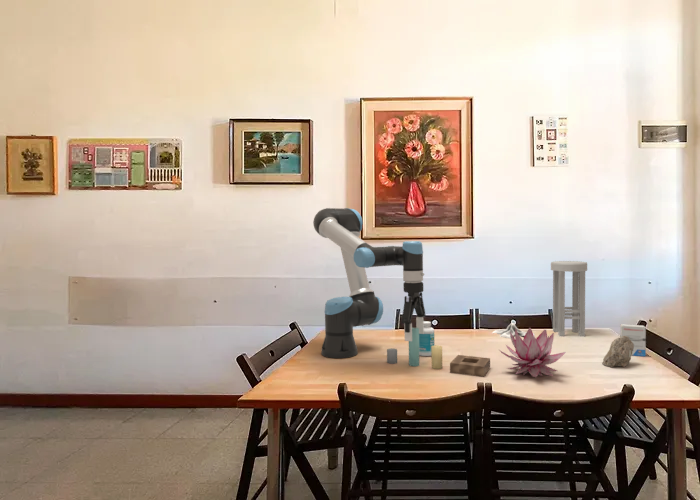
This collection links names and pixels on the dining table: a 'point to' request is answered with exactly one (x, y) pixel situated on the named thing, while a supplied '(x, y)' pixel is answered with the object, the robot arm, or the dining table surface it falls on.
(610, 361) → the rock
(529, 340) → the decorative flower
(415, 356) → the long pin
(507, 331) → the cloth
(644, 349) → the ink box
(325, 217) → the robot arm
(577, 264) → the stool
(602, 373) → the dining table surface
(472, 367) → the socket block
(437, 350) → the medium pin
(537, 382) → the dining table surface
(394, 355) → the short pin
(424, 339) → the pill bottle
